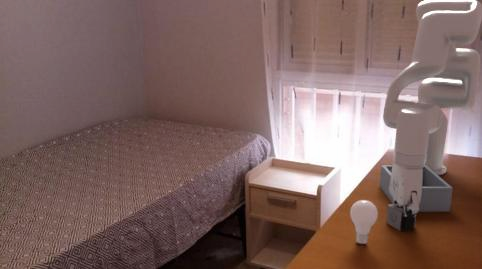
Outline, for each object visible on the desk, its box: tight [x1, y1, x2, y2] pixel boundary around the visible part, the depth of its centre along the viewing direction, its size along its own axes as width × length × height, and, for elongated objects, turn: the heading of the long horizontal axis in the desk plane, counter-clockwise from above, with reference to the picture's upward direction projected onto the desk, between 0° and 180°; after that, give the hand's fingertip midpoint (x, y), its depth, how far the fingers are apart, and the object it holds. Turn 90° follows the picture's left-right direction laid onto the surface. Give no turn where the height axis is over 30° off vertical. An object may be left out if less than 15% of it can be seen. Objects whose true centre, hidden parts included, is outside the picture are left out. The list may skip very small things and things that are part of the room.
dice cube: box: [385, 203, 417, 231], centre depth 118 cm, size 5×5×5 cm
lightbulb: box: [349, 199, 379, 245], centre depth 108 cm, size 6×6×11 cm
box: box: [379, 164, 454, 213], centre depth 133 cm, size 18×14×7 cm
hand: (402, 223), depth 118 cm, fingers closed on dice cube, 6 cm apart
